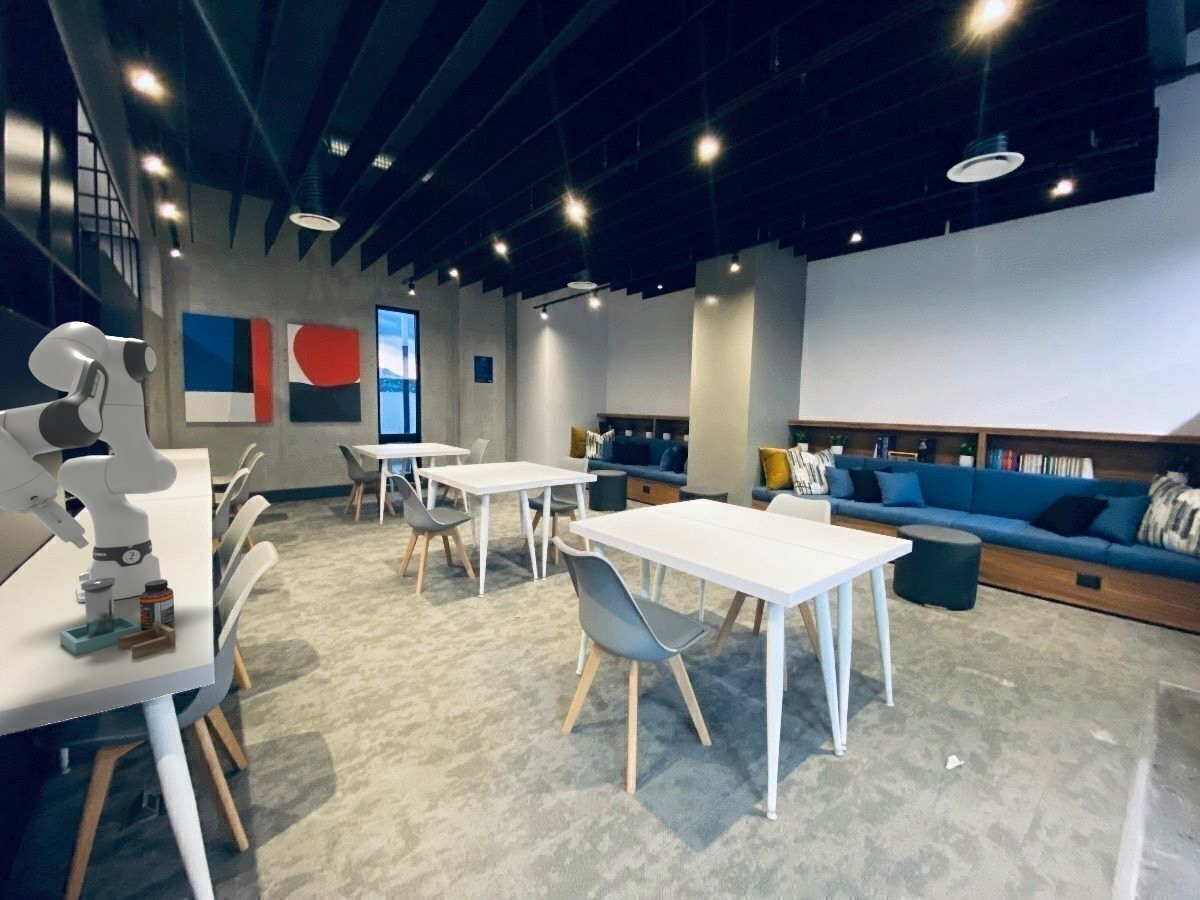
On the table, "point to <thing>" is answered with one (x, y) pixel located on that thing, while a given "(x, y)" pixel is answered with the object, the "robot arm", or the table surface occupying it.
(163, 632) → the bracket
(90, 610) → the pin
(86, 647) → the tray
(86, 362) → the robot arm
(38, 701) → the table surface
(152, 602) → the supplement bottle
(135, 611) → the table surface
